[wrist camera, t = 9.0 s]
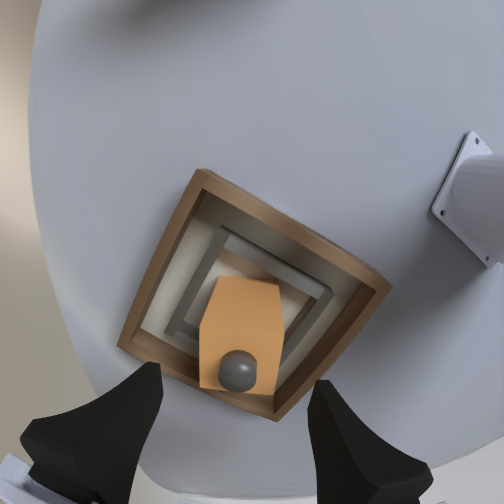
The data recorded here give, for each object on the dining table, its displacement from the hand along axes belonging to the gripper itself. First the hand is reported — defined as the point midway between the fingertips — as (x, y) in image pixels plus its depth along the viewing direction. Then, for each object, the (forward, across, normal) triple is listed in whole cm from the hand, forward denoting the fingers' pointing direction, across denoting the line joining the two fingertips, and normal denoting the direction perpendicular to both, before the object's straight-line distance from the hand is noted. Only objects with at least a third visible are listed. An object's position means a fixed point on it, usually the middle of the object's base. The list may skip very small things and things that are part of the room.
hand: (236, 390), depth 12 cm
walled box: (+9, 0, 0) cm, 9 cm away
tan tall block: (+9, 0, 0) cm, 9 cm away
